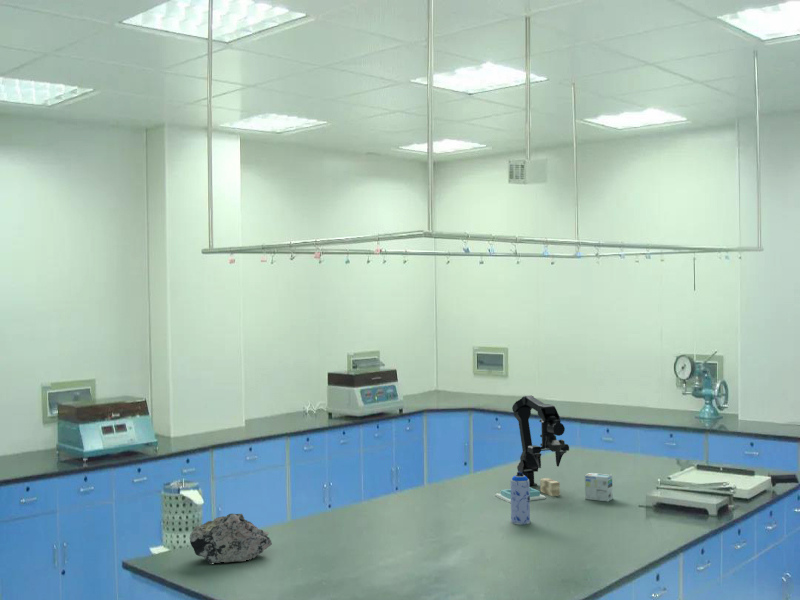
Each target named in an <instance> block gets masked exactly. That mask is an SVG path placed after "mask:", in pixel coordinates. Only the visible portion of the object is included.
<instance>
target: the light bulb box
mask: <svg viewBox="0 0 800 600" xmlns="http://www.w3.org/2000/svg"><path fill="white" fill-rule="evenodd" d="M613 487H614V486H613V474H604V473H595V472H589V473H586V474H585V475H584V492H585V493H584V498H585V500H591V501H601V502H609V501H611V500H613V498H614V491H613V489H614V488H613Z"/></svg>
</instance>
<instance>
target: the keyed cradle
mask: <svg viewBox="0 0 800 600" xmlns="http://www.w3.org/2000/svg"><path fill="white" fill-rule="evenodd" d="M494 496H495V497H497V498H498V499H501V500H503V501H505V502H507V503H510V504H511V488H509V489H500V492H499V493H495V494H494ZM546 498H547V497H546V496H545V495H543V494H541V490H538V489H535V488H533V487H531V486H530V501H537V500H546Z"/></svg>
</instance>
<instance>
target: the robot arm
mask: <svg viewBox="0 0 800 600" xmlns="http://www.w3.org/2000/svg"><path fill="white" fill-rule="evenodd" d="M532 410H534V411H535V412H537V416H538V417H540V419H539V422H540V424H541V427H540V428H541V434H540V435H539V436H540V438H541V443H540V446H539V445H535V444H533V442H532V435H531V427H530V422H529V420H530V416H531V414H532ZM511 411H512V412H513V416H514V418H515V419H516V420H517V422H518V427H519V428H518V429H519V435H520V441H521V450H522V452H521V455H520V457H519V458H520V459H519V460H520V461H519V463H518V465H517V467H516V469H517V472H519V471H522V472H523V475H525V476H526V477H527V478H528V479H529V482H530V487H531V486H537V485H538V483H536V482H535V472H539V469H541V468H542V459H541V456H542V453H541V452H543V451H551V452H554V454H555V462H556V465H555V466H556V467H559V466H560V464H561V461H562V457H563V456H564V454H567V452H569V451H570V445H569V444H567V443H565V440H564V439H558V440H557V436H559V437H560V436H562V435H563V434H564V433H565V432H566V431H565V430H566V428H565V426H564V424H563V423H562V422H561V419H560V415H559V413H558V409H557V408H556V407H555V405H554V404H552V403H551V404H549V403H544V402H542V401H541V400H539V399H537V398H535V397H534V396H533V395H524V396H522V397H521V398H520V399H518V400H516V401H515V402H514V403H513V405H512V408H511Z"/></svg>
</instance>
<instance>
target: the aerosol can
mask: <svg viewBox="0 0 800 600" xmlns="http://www.w3.org/2000/svg"><path fill="white" fill-rule="evenodd" d="M530 487H531V486H530V482H529V479H528V478H527V477H526V476H525V475H523V472H522V471H519V472H518V471H517V472H516V475H513V476H512V477H511V479H510V489H511V503H510V517H511V518H510V523H511V524H514V525H521V526H522V525H529V524H531V505H530V504H531V500H530Z"/></svg>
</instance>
